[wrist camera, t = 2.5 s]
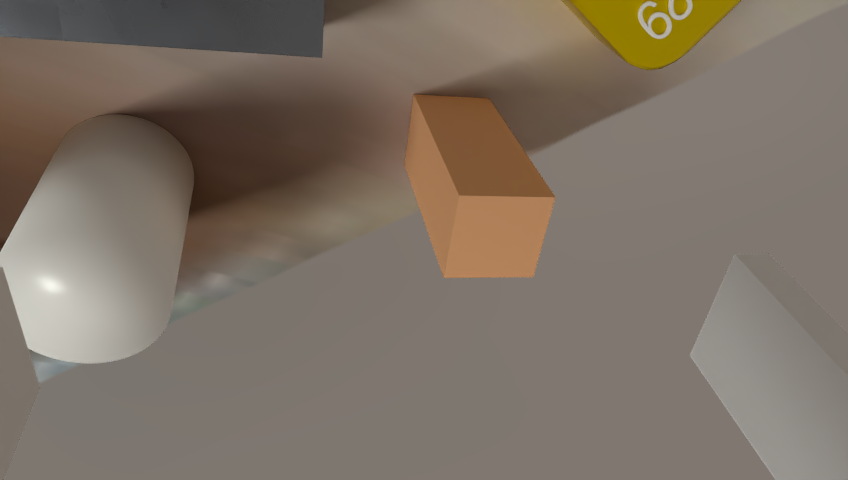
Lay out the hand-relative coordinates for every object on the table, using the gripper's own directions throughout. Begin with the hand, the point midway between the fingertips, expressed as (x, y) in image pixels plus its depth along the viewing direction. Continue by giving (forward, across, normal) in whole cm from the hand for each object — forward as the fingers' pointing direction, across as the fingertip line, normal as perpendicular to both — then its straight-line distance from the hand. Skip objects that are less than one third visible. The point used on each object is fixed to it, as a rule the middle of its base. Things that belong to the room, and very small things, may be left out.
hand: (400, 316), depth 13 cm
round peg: (+22, -10, -9) cm, 26 cm away
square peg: (+22, +6, -7) cm, 24 cm away
